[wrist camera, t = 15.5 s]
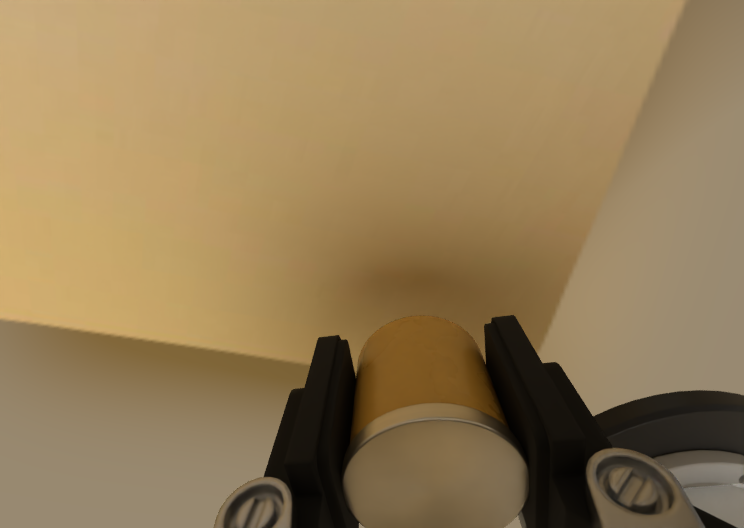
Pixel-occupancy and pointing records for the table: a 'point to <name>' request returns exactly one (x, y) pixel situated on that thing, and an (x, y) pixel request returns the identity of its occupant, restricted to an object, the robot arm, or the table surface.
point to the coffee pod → (430, 434)
